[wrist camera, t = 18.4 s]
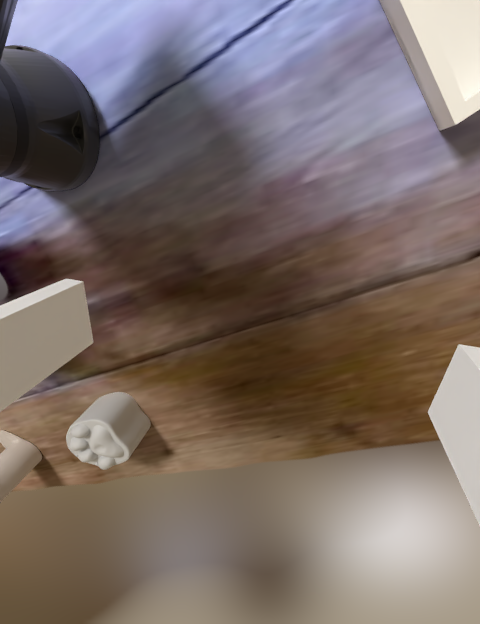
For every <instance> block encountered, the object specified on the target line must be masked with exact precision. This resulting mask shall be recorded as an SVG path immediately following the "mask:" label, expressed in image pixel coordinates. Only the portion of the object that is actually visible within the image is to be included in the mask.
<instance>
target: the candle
mask: <svg viewBox="0 0 480 624" xmlns="http://www.w3.org/2000/svg"><path fill="white" fill-rule="evenodd" d="M0 442H1V443H2V445H3V446H4V447H5V448H6V449H5V450H4V451H3V452H2V453H1V454H0V503H1V501H2V500H3V499H4V498H5V497H6V496H7V495H8V494H9V493H10V492H11V491H12V490H13V489H14V488H15V487H16V486H17V485H18V484H19V482H20V481H21V480H22V479H23V478H24V477H25V476H26V475H27V474H28V473H29V472H30V471H31V470H32V469H33V468H34V467H35V466H36V465H37V464H38V463H39V462H40V461H41V460H42V455H41V452H40V451H39V449H38V448H37V447H36V446H34V445H33V444H32V443H30V442H28V441H26V440H24V439H22V438H20V437H18V436H16V435H14V434H12V433H9V432H7V431H4V430H0Z"/></svg>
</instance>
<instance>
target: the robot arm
mask: <svg viewBox="0 0 480 624" xmlns="http://www.w3.org/2000/svg"><path fill="white" fill-rule="evenodd" d="M17 1H18V0H0V177H4V178H6V179H10V180H13V181H16V182H21V183H25V184H26V185H28V186H31V187H33V188H36V189H40V190H45V191H62V190H70V189H73V188H76V187H78V186H79V185H81V184H82V183H84V182H85V181H86V180H87V178H88V177H89V176H90V174H91V173H92V171H93V169H94V167H95V164H96V162H97V158H98V153H99V127H98V122H97V117H96V113H95V110H94V107H93V105H92V102H91V100H90V97H89V95H88V93H87V92H86V90H85V88H84V86H83V85H82V83H81V82H80V80H79V79H78V78H77V77H76V75H75V74H74V73H73V72H72V71H71V70H70V69H69V68H68V67H67V66H66V65H65V64H63V63H62V62H61V61H59V60H58V59H56V58H54V57H52V56H50V55H48V54H46V53H43V52H41V51H39V50H36V49H34V48H31V47H26V46H20V45H12V46H5V43H6V40H7V36H8V33H9V29H10V25H11V22H12V18H13V14H14V11H15V8H16V4H17ZM92 343H93V337H92V331H91V325H90V319H89V313H88V307H87V301H86V295H85V289H84V283H83V281H77V280H71V279H64V280H62V281H59V282H57V283H54V284H52V285H49V286H47V287H45V288H42V289H40V290H37V291H35V292H32V293H30V294H28V295H25V296H23V297H20V298H18V299H15V300H13V301H11V302H8V303H6V304H3V305H1V306H0V412H1V411H2V410H3V409H5V408H6V407H7V406H9V405H10V404H11V403H13V402H14V401H15V400H17V399H18V398H20V397H21V396H22V395H24V394H25V393H26V392H28V391H29V390H30V389H32V388H33V387H34V386H36V385H37V384H38V383H40V382H41V381H42V380H44V379H45V378H46V377H48V376H49V375H50V374H52V373H53V372H54V371H56V370H57V369H59V368H60V367H61V366H63V365H64V364H65V363H67V362H68V361H69V360H71V359H72V358H73V357H75V356H76V355H77V354H79V353H80V352H81V351H83V350H84V349H85V348H87V347H88V346H89V345H91V344H92ZM428 414H429V416H430V418H431V421H432V423H433V425H434V427H435V429H436V432H437V434H438V436H439V438H440V440H441V443H442V445H443V447H444V449H445V451H446V454H447V456H448V458H449V460H450V462H451V465H452V467H453V469H454V471H455V473H456V476H457V478H458V480H459V482H460V484H461V487H462V489H463V491H464V493H465V496H466V498H467V500H468V502H469V504H470V506H471V509H472V511H473V513H474V515H475V517H476V520H477V522H478V524H479V526H480V348H478V347H472V346H466V345H460V344H459V345H458V347H457V349H456V351H455V353H454V356H453V358H452V360H451V362H450V364H449V367H448V369H447V371H446V373H445V375H444V378H443V380H442V382H441V384H440V386H439V389H438V391H437V393H436V395H435V397H434V400H433V402H432V404H431V406H430V408H429V411H428Z"/></svg>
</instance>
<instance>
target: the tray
mask: <svg viewBox="0 0 480 624" xmlns="http://www.w3.org/2000/svg"><path fill="white" fill-rule="evenodd" d="M379 1H380V3H381V5H382V8H383V10H384V12H385V14H386V16H387V19H388V21H389V23H390V25H391V27H392V29H393V32H394V34H395V36H396V38H397V40H398V42H399V45H400V47H401V49H402V51H403V53H404V55H405V58H406V60H407V62H408V64H409V66H410V68H411V71H412V73H413V75H414V77H415V79H416V82H417V84H418V86H419V88H420V90H421V92H422V95H423V97H424V99H425V101H426V103H427V105H428V108H429V110H430V112H431V114H432V116H433V118H434V121H435V123H436V125H437V127H438V129H439V131H441V130H443V129H446V128H449V127H452V126H454V125H456V124H458V123H460V122H461V121H463V120H464V119H466V118H467V117H469V116H470V115H472V114H473V113H475V112H476V111H478V110H479V109H480V0H379Z"/></svg>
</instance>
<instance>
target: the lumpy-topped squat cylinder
mask: <svg viewBox="0 0 480 624" xmlns="http://www.w3.org/2000/svg"><path fill="white" fill-rule="evenodd" d="M150 425H151V422H150V420H149V418H148V417H147V416H146V415H145V414H144V412H143V411H142V410H141V409H140V407H139V406H138V404H137V402H136V401H135V399H134V398H133V397H132V396H130V395H128V394H126V393H123V392H115V393H111V394H107V395H105V396H102V397H100V398H98V399H97V400H96V401H95V402H94V403H93V404H92V405H91V406H90V407H89V408H88V409H87V410H86V411H85V412H84V413H83V414H82V415H81V416H80V417H79V418H78V419H77V420H76V421H75V422H74V423H73V424H72V425H71V426H70V428H69V430H68V432H67V436H66V441H67V445H68V448H69V450H70V451H71V452H72V453H73V454H74V455H75V456H76V457H78V458H79V460H81V461H82V462H87V463H90V464H93V465H96V466H99V467H100V468H101V469H108V468H110V467H112V466H113V465H117V464H119V463H123V462H125V461H127V460H128V459H129V458H130V456H131V455H132V453H133V452H134V450H135V449H136V447H137V446H138V444H139V443H140V441H141V440H142V438H143V437H144V436H145V434H146V433H147V431H148V430H149V428H150Z"/></svg>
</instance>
